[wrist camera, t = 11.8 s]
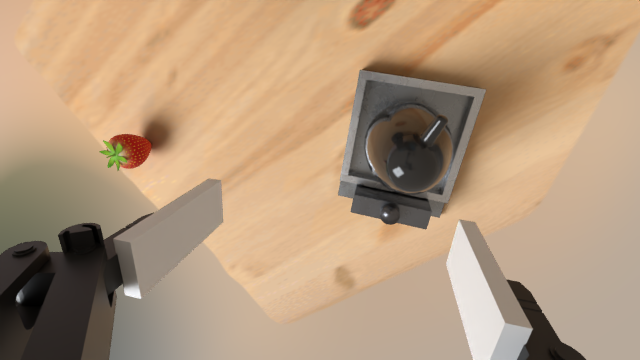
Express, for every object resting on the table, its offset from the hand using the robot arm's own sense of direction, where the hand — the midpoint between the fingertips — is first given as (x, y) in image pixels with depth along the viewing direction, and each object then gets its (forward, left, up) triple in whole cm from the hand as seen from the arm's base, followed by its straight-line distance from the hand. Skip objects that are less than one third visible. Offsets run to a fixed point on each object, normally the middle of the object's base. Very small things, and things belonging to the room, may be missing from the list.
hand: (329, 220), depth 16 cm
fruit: (+9, -36, -28) cm, 46 cm away
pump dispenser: (0, +5, -27) cm, 28 cm away
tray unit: (+1, +5, -28) cm, 28 cm away
